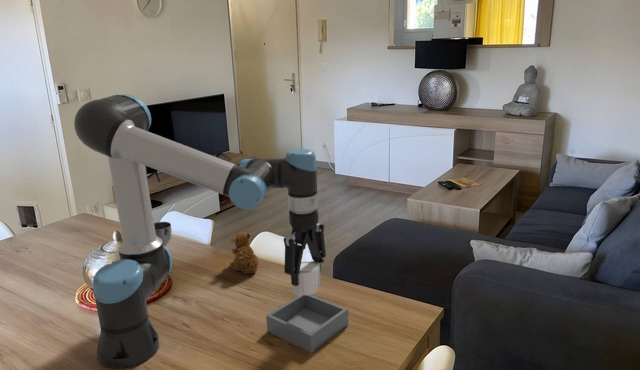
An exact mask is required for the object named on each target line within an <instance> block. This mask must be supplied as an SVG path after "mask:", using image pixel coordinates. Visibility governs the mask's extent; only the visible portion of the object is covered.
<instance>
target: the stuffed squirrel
mask: <svg viewBox="0 0 640 370" xmlns="http://www.w3.org/2000/svg"><path fill="white" fill-rule="evenodd" d="M251 236H252V233H250V232H249V233H247V232H243V231H240V232H237V234H236V235H235V236H233V237H232V239H231V241H230V243H232V244H235V247H233V248H232V254H233V255H234V258H233V261H232V262H229V266H230V268H231V269H232V270H233V271H235V272H241V273H243V274H245V275H249V274H255V273H256V272H257V271H258V265H259V257H258V256H257V255H256V254H255V252H254V250H253V248H252V247H251V246H250V238H251Z"/></svg>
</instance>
